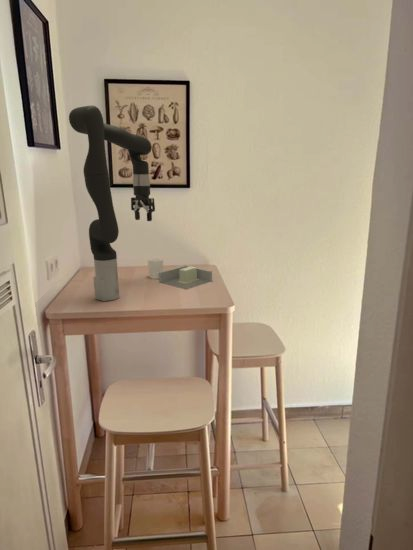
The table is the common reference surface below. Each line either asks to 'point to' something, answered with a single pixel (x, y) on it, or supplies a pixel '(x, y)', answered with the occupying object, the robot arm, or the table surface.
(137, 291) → the table surface
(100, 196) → the robot arm
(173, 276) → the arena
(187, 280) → the sage block
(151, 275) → the white cup
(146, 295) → the table surface
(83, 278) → the table surface
